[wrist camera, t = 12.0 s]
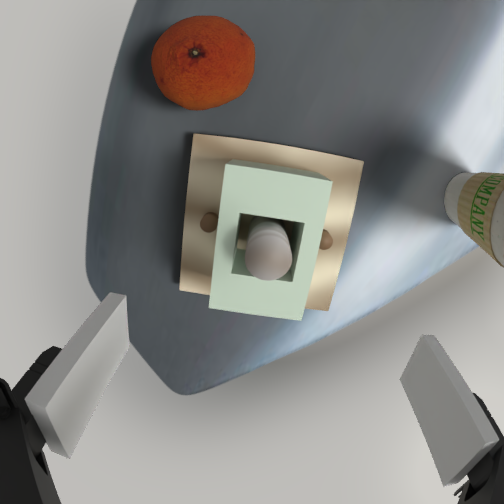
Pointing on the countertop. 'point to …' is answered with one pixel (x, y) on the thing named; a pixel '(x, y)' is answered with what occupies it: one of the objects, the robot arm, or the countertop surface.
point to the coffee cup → (479, 209)
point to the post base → (272, 155)
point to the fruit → (203, 62)
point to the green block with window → (275, 206)
